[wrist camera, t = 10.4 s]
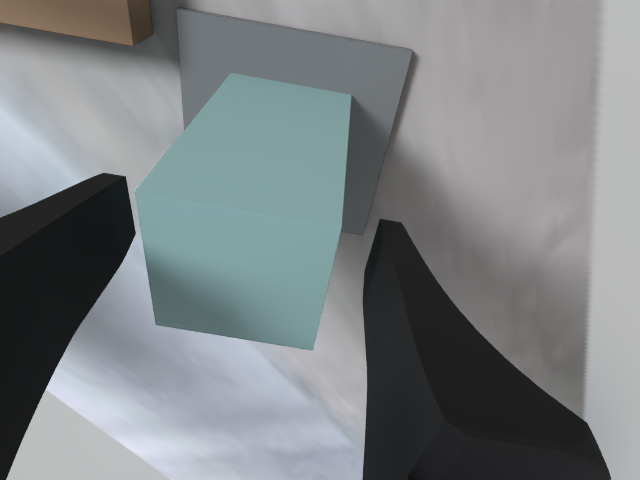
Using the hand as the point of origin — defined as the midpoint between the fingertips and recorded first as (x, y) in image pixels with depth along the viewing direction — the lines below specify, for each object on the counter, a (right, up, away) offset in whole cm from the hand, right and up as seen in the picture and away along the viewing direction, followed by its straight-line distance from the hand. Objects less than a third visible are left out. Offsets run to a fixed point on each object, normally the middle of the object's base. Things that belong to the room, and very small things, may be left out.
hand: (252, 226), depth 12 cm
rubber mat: (+1, +4, +5) cm, 6 cm away
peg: (+1, +4, +4) cm, 6 cm away
